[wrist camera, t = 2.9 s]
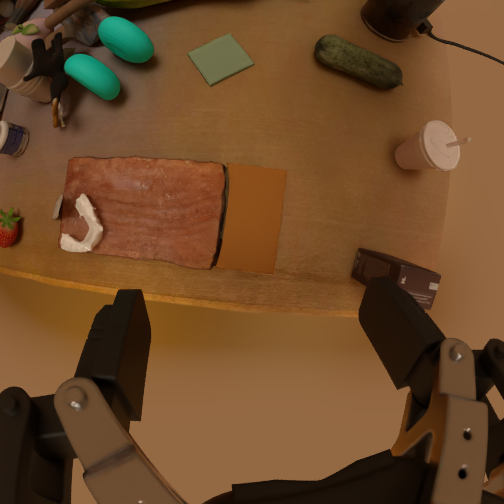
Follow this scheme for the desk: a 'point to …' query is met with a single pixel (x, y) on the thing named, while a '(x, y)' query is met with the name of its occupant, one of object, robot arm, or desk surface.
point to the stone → (86, 22)
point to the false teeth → (93, 233)
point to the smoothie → (431, 148)
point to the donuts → (120, 43)
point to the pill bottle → (12, 138)
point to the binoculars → (6, 10)
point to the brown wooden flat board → (178, 211)
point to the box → (397, 275)
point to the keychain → (57, 207)
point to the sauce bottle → (20, 12)
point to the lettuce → (128, 3)
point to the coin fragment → (3, 26)
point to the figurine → (50, 69)
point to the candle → (21, 71)
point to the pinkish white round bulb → (31, 31)
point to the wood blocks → (68, 31)
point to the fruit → (8, 228)
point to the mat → (220, 59)
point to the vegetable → (358, 62)
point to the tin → (2, 95)
